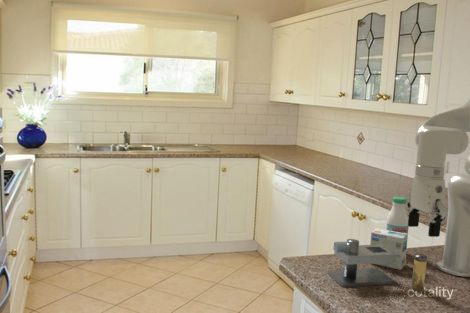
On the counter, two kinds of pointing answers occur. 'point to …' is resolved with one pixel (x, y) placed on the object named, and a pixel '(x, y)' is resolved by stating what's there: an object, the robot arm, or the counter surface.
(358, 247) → the grey metal stand
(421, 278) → the pin
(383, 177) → the counter surface
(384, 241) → the light bulb box
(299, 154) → the counter surface
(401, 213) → the milk bottle
